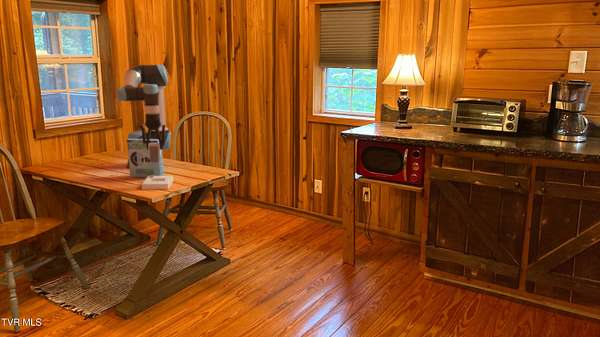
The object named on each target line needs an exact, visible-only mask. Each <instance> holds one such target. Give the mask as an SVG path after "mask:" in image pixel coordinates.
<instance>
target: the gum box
mask: <svg viewBox="0 0 600 337" xmlns="http://www.w3.org/2000/svg"><path fill="white" fill-rule="evenodd" d="M146 140H147V139H146ZM149 143H159V140H158V139H150V141H149ZM126 145H127V156H128V158H129V168H128V169H129V177H130V178H145V179H146V178H147V177H148V176H150V175H154V176H165V174H164V162H163V161H164V160H163V150H162V149H161V155H160V162H150V156H149V150H147V146H146V143H143V140H142V139H135V138H130V139H128V138H127V139H126Z"/></svg>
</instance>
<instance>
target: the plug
mask: <svg viewBox="0 0 600 337" xmlns="http://www.w3.org/2000/svg"><path fill="white" fill-rule="evenodd" d="M158 144H159V143H151V144H149V150H150V162H160V156H159V152H158Z"/></svg>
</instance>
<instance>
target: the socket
mask: <svg viewBox="0 0 600 337" xmlns="http://www.w3.org/2000/svg"><path fill="white" fill-rule="evenodd" d="M173 182H174V175H164V176H154V175H150V176H148V177H147V178H145V180H143V182H142V183H141V190H145V191H146V190H148V191H149V190H169V189H170V187H171V185H172V184H173Z"/></svg>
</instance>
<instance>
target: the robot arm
mask: <svg viewBox="0 0 600 337" xmlns="http://www.w3.org/2000/svg"><path fill="white" fill-rule="evenodd" d="M168 80H169V79H168V74H167V70H166V67H165V65H163V64H138V65H134V66H132V67H130V68H128V70H127V71H126V72H125V74H124V83H123V86H120V87H118V88H117V90H116V97H117V100H118V101H119V102H136V101H137V102H140V101H141V102H144V113H145V115H144V116H145V117H144V118H145V122H144V124H143V123H142V124H140V125H139V126H140V129H138V130H135V131H131V132H129V133H128V134H127V139H130V138H135V139H142V140H143V143H146V146H147V150H149V144H151V143H149V141H150V139H158V140H159V144H158V152H159V156H160V155H161V149H162V151H166V150H167V151H168V150H169V149H170V148H171V139H172V138H171V137H172V132H171V131H169V128H168V127H167V122H166V108H165V107H166V104H165V91H164V90H165V88H166V87H167V84H169V81H168ZM139 84H140V85H143V86H138V85H139ZM146 128H147V130H146ZM146 139H147V140H146ZM149 156H150V150H149ZM126 168H127V169H129V158H128V159H127V163H126Z"/></svg>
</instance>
